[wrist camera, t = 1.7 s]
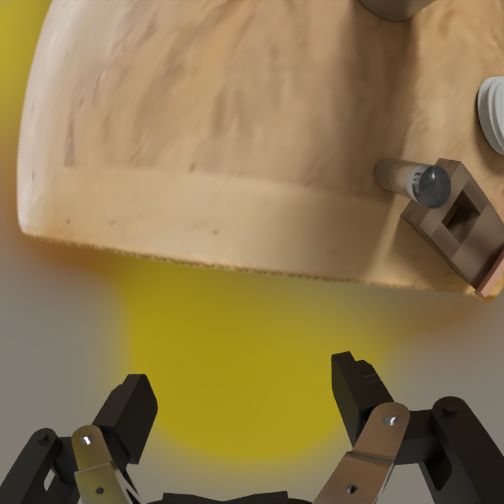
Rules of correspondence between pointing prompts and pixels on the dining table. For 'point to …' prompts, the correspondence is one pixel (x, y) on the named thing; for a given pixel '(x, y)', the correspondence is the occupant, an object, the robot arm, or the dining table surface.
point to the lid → (492, 111)
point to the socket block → (461, 226)
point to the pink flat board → (491, 277)
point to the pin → (414, 181)
